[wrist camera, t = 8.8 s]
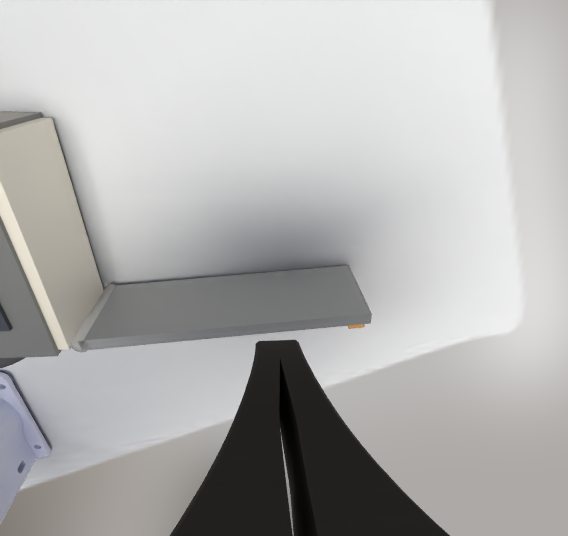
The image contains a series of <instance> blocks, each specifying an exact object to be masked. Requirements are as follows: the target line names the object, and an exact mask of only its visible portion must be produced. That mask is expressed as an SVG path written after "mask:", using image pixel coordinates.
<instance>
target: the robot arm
mask: <svg viewBox="0 0 568 536" xmlns="http://www.w3.org/2000/svg"><path fill="white" fill-rule="evenodd" d="M280 429H281V432H280ZM281 436H282V441H283V448H284V454H285V460H286V466H287V473H288V479H289V487H290V494H291V506H292V518H293V531H294V536H450V535H449V534H447V533H446V532H445V531H444V530H443V529H442V528H441V527H440V526H438V525H437V524H436V523H435V522H434V521H433V520H432V519H431V518H430V517H429V516H428V515H427V514H426V513H425V512H424V511H423V510H422V509H421V508H420V507H418V505H416V504H415V503H414V502H413V501H412V500H411V499H410V498H409V497H408V496H407V495H406V494H405V493H404V492H403V491H402V490H401V488H400V487H399V486H398V485H397V484H396V483H395V482H394V481H393V480H392V479H391V478H390V477H389V475H388V474H387V473H386V472H385V471H384V470H383V469H382V468H381V467H380V466H379V465H378V464H377V462H376V461H375V460H374V459H373V458H372V457H371V455H370V454H369V453H368V452H367V451H366V450H365V448H364V447H363V446H362V445H361V444H360V442H359V441H358V440H357V438H356V437H355V436H354V435H353V433H352V432H351V431H350V429H349V428H348V427H347V425H346V424H345V423H344V421H343V420H342V419H341V417H340V416H339V414H338V413H337V411H336V410H335V408H334V407H333V405H332V404H331V402H330V401H329V399H328V398H327V396H326V394H325V393H324V391H323V389H322V388H321V386H320V384H319V383H318V381H317V379H316V378H315V376H314V374H313V372H312V370H311V368H310V367H309V365H308V363H307V361H306V359H305V357H304V354H303V352H302V350H301V347H300V345H299V342H297V341H296V340H279V341H259V342H257V343H256V349H255V357H254V362H253V366H252V370H251V374H250V377H249V380H248V383H247V387H246V390H245V393H244V396H243V398H242V401H241V403H240V406H239V409H238V411H237V414H236V416H235V419H234V421H233V423H232V426H231V428H230V430H229V433H228V435H227V437H226V439H225V441H224V443H223V445H222V447H221V449H220V451H219V453H218V455H217V457H216V459H215V461H214V463H213V464H212V466H211V468H210V470H209V472H208V474H207V476H206V477H205V479H204V481H203V483H202V485H201V486H200V488H199V490H198V491H197V493H196V495H195V496H194V498H193V499H192V501H191V503H190V505H189V506H188V508H187V509H186V511H185V513H184V514H183V516H182V517H181V519H180V521H179V522H178V524H177V525H176V527H175V528H174V530H173V532H172V533H171V535H170V536H293V535H292V528H291V520H290V512H289V503H288V495H287V487H286V478H285V470H284V461H283V451H282V442H281ZM50 452H51V449H50V447H49V446H48V444H47V442H46V440H45V439H44V437H43V435H42V433H41V432H40V430H39V428H38V426H37V425H36V423H35V421H34V419H33V417H32V416H31V414H30V412H29V410H28V409H27V407H26V405H25V403H24V402H23V400H22V398H21V396H20V395H19V393H18V391H17V389H16V388H15V386H14V384H13V382H12V381H11V379H10V377H9V376H8V375H7V374H5V373H1V372H0V524H1V522H2V521H3V519H4V517H5V515H6V513H7V511H8V509H9V507H10V506H11V504H12V502H13V500H14V498H15V496H16V495H17V493H18V491H19V489H20V487H21V485H22V483H23V482H24V480H25V478H26V476H27V474H28V472H29V470H30V469H31V467H32V465H33V463H34V461H35V459H36V458H44V457H47V456H49V454H50Z"/></svg>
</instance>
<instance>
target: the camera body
mask: <svg viewBox="0 0 568 536" xmlns="http://www.w3.org/2000/svg"><path fill="white" fill-rule="evenodd" d="M103 291H104V290H103V287H102V283H101V280H100V277H99V273H98V270H97V267H96V263H95V260H94V257H93V254H92V250H91V247H90V244H89V240H88V237H87V234H86V230H85V227H84V224H83V220H82V217H81V214H80V210H79V207H78V204H77V200H76V197H75V194H74V190H73V187H72V184H71V180H70V177H69V174H68V170H67V167H66V164H65V160H64V157H63V154H62V150H61V147H60V144H59V140H58V137H57V134H56V130H55V127H54V124H53V120H52V118H42V115H41V112H0V368H3V367H6V366H9V365H12V364H14V363H16V362H18V361H20V360H22V359H24V358H26V357H43V356H58V355H59V353H60V352H61V350H68V349H70V348H71V342H72V340H73V339H74V337H75V336H76V334H77V332H78V331H79V329H80V328H81V326H82V325H83V323H84V321H85V320H86V318H87V317H88V315H89V314H90V312H91V310H92V309H93V307H94V306H95V304H96V302H97V301H98V299H99V298H100V296H101V295H102V293H103Z"/></svg>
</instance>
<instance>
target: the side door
mask: <svg viewBox="0 0 568 536" xmlns="http://www.w3.org/2000/svg"><path fill="white" fill-rule="evenodd" d="M371 315H372V314H371V312H370V309H369V307H368V305H367V303H366V301H365V299H364V297H363V295H362V292H361V290H360V288H359V286H358V284H357V282H356V280H355V278H354V276H353V273H352V271H351V269H350V267H349V265H345V266H333V267H322V268H310V269H299V270H287V271H276V272H264V273H252V274H241V275H229V276H218V277H206V278H195V279H183V280H171V281H160V282H148V283H137V284H125V285H114V284H110V285H108V286H107V287H106V288H105V290H104V291H103V293H102V295H101V296H100V298H99V299H98V301H97V302H96V304H95V306H94V307H93V309H92V310H91V312H90V314H89V315H88V317H87V318H86V320H85V321H84V323H83V325H82V326H81V328H80V329H79V331H78V332H77V334H76V336H75V337H74V339H73V340H72V342H71V347H72V348H73V349H74V350H75V351H78V352H85V351H87V350H92V349H103V348H114V347H124V346H135V345H145V344H156V343H167V342H177V341H188V340H198V339H209V338H220V337H230V336H241V335H252V334H262V333H273V332H283V331H294V330H305V329H315V328H326V327H336V326H347V325H348V328H349V329H351V328H361V327H364V324H368V323H371Z"/></svg>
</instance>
